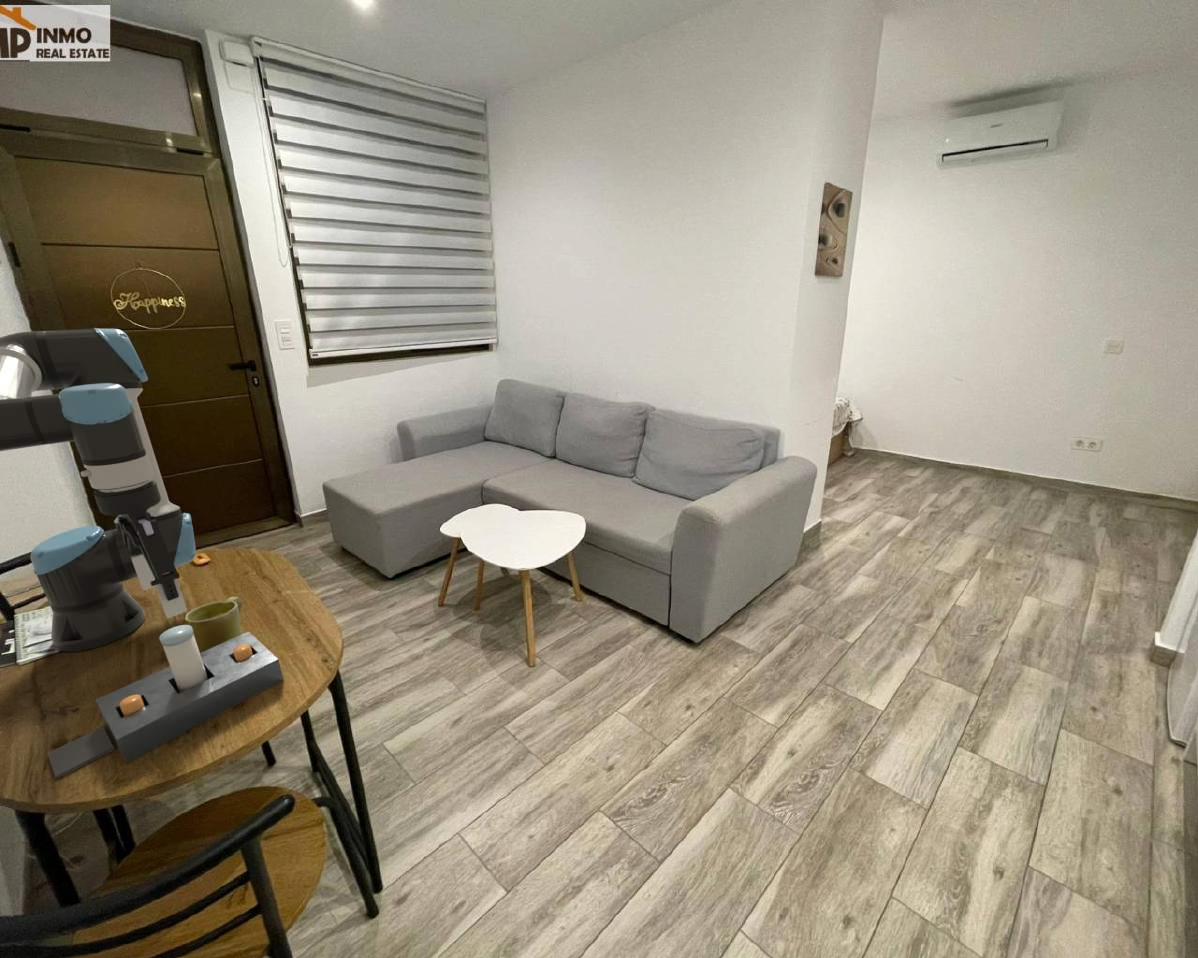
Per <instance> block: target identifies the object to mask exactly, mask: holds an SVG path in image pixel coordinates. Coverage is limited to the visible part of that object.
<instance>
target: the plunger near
mask: <svg viewBox="0 0 1198 958" xmlns="http://www.w3.org/2000/svg"><path fill="white" fill-rule="evenodd" d="M119 705H120V708H121V710H122V713H123V715H124V717H125V716H127V715H129V714H131V713H133V712H135V711H137V710H140V709H142V708H144V707H145V706H144V703H143V701H142V698H141V696H140V695H132V696H129V697H127V698H125V699H123V700H122V701H121V702H120V704H119Z"/></svg>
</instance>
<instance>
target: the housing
mask: <svg viewBox="0 0 1198 958" xmlns="http://www.w3.org/2000/svg"><path fill="white" fill-rule="evenodd" d="M243 644H249V645H250V646H251V650H252V653H253V655H252V656H250V657H248V658H246V659H244V660H242V661H240V662H238V663H237V662H236V659H235V656H234V652H233V651H234V649H235V648H236V647H238V646H240V645H243ZM200 655H201V659H202V662H203V665H204V668H205V671H206V674H207V677H208V680H206V681H204V682H202V683H200V684H198V685H196V686H194V687H192V688H190V689H188V690H186V691H184V692H181V693H180V692H179V690H178V687H177V684H176V681H175V678H174V676H173V673H172V670H171V667H170V666H168V667H165V668H164V669H162V670H159V671H156V672H155V673H152V674H150V675H148V676H145V677H143V678H140V679H138V680H136V681H135V682H132V683H130V684H128V685H126V686H124V687H120V688H118V689H116V690H114V691H112V692H110V693H107V694H104V695H103V696H100V697H99V698H96V699H95V701H96V703H97V706H98V708H99V710H100V713H101V715H102V717H103V720H104V722H105V724H106V726H107V728H108V729H109V732H110V734H111V735H112V738H113V740H114V742H115V743H116V746H117V747H118V750H119V752H120V754H121V755H122V757H123V759H124V761H125V763H126V764H128V763H130V762H132V761H134V760H136V759H138V758H139V757H142V756H143V755H146V754H147V753H149V752H151V751H153V750H155V749H157V748H158V747H160V746H163V745H164V744H166V743H168V742H169V741H171V740H173V739H176V738H177V737H179V736H181V735H182V734H185V733H186V732H189V731H190V730H192V729H194V728H196V727H198V726H200V725H202V724H203V723H205V722H207V721H209V720H211V719H213V718H215V717H216V716H218V715H220V714H223V713H225V712H226V711H228V710H230V709H232V708H234V707H236V706H237V705H239V704H241V703H243V702H245V701H247V700H249V699H251V698H252V697H254V696H256V695H258V694H260V693H262V692H264V691H266V690H267V689H269V688H272V687H273V686H275V685H277V684H279V683H280V682H283V681H284V676H283V672H282V668H281V664H280V660H279V658H278V657H277V656H275V654H274V653H272V652H271V651H270V650H269V649H268V648H267V646H265V645H264V644H263V643H262V642H261V641H260V640H258V638H257V637H255V635H253V634H252V632H250V631H246V632H244V633H243V634H242V635H240V636H237V637H235V638H233V639H231V640H228V641H226V642H224V643H222V644H219V645H217V646H215V647H213V648H210V649H208V650H206V651H204V652H201V653H200ZM132 695H140V696H141V698H142V701H143V703H144V706H145V707H144V708H142V709H140V710H137V711H135V712H133V713H131V714H129V715H127V716H125V717H124V715H123V713H122V710H121V708H120V705H119V704H120V702H121V701H122V700H123V699H125V698H127V697H129V696H132Z"/></svg>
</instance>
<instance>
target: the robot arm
mask: <svg viewBox="0 0 1198 958" xmlns="http://www.w3.org/2000/svg"><path fill="white" fill-rule="evenodd" d="M148 380H149V378H148V375H147V373H146V371H145V368H144V366H143V364H142V362H141V360H140V358H139V355H138V353H137V352H136V349H135V347H134V345H133V344H132V342H131V340H130V338H129V336H128V334H127V333H126V332H125V331H123V330H121V329H118V328H97V327H94V328H79V329H77V328H76V329H61V330H43V331H41V330H37V331H35V330H32V331H31V330H30V331H21V332H16V333H12V334H8V335H5V336H1V337H0V452H4V451H13V450H18V449H19V450H20V449H24V448H31V447H32V448H33V447H40V446H44V445H55V444H60V443H61V444H62V443H67V442H68V443H69V442H74V443H75V445H76V448H77V451H78V453H79V456H80V459H81V463H82V464H83V468H85V470H82V471H81V472H80V476H81V477H82V478H87V479H88V482H89V484H90V487H91V488H92V489H94V490H95V491H94V492H93V496H94V498H95V502H96V505H97V507H98V510H99V512H100V513H101V514H103V515H105V516H116V518H115V519H114V521H113V523H114V526H115V527H116V528H115V529H110V530H105V531H104V529H103V528H102V527H101V526H98V525H89V526H87V525H86V526H80V527H76V528H73V529H68V530H66V531H63V532H61V533H58V534H55V535H53V536H50V537H48V538H47V539H45V540H43V541H41V542H40V543H39V544H37V545H36V546H34V548H33V549H32V550H31V552H30V555H29V556H30V561H31V564H32V567H33V573H34V574H35V575H36V577H37V579H38V581H39V583H40V586H41V588H42V590H43V592H44V595H45V597H46V599H47V601H48V604H49V606H50V608H51V611H52V621H51V622H52V623H51V642H52V643H53V645H54V648H55V647H56V648H57V649H56V648H55V649H56V650H58V651H60V652H66V653H71V652H72V653H74V652H83V651H87V650H88V651H89V650H91V649H95V648H99V647H101V646H106V645H107V644H110V643H112V642H116V641H117V640H120V639H122V638H123V637H126V636H128V635H129V634H131V633H132V632H134V631H135V630H137V629H138V628H139V627H140V626H142V624H143V623H144V621H145V619H146V614H145V612H144V608H143V607H142V606H141V605H140V603H139V602H138V601H137V600H135V598H134V597H132V595H131V594H130V593H129V592H128V591H126V589H125V587H124V585H123V582H126V581H129V580H133V579H136V578H138V581H139V584H140V586H141V588H142V591H146V590H149V589H153V588H155V589H156V591H157V595H158V598H159V601H160V603H161V606H162V609H163V611H164V615H165V617H166V619H170V618H173V617H176V616H178V615H181V614H184V613H186V612H188V608H187V605H186V603H185V599H184V596H183V593H182V590H181V586H180V584H179V581H178V579H179V578H180V577H181V576H180V573H179V571H177V568H178V567H180V566H183V565H187V564H189V563H191V562H193V561H194V560H195V558H196V555H197V554H196V550H197V549H196V542H195V541H196V540H195V534H194V528H193V524H192V522H193V521H192V516H191V514H190V513H187V512H183V513H182V510H181V507H180V506H178V505H176V504H174V503H172V502H171V501H170V500H169V496H168V492H167V490H166V487H165V484H164V480H163V477H162V473H161V472H160V468H159V464H158V461H157V458H156V455H155V452H154V449H153V445H152V443H151V442H152V441H151V439H150V437H149V433H148V430H147V427H146V424H145V421H144V418H143V414H142V411H141V408H140V404H139V402H138V397H139V396H140V395H141V394H142V392H143V391H144V389H143V385H142V383H145V382H147V381H148ZM51 390H52V391H53V390H61V391H59V393H57V394H55V393H54V394H45V395H36V396H35V395H34V396H32V395H33V392H38V391H51Z"/></svg>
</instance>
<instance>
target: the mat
mask: <svg viewBox="0 0 1198 958" xmlns="http://www.w3.org/2000/svg"><path fill="white" fill-rule="evenodd" d="M112 743H113V742H112V741H111V738H110V737H109V735H108V733H107V732H106V729H105V727H104V726H101V727H100V728H97V729H95V730H94V731H91V732H89V733H87V734H84V735H82V736H81V737H78V738H76V739H74V740H72V741H70V742H67V743H66V744H64V745H62V746H59V747H57V748H55V749H53V750H51V751H49V752H47V757H48V760H49V763H50V765H51V768H52V769H51V770H52V771H53V774H54V777H55V779H56V780H59V777H60V778H62V777H64V776H66V775H68V774H70V773H72V772H73V771H76V770H77V769H79V768H82V767H83V766H85V765H87V764H90V763H92V762H94V761H95V760H97V759H99V758H101V757H103V756H105V755H107V754H110V753H112V752H113V751H114V750H116V749H115V747H114V744H112ZM61 776H62V777H61Z"/></svg>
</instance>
